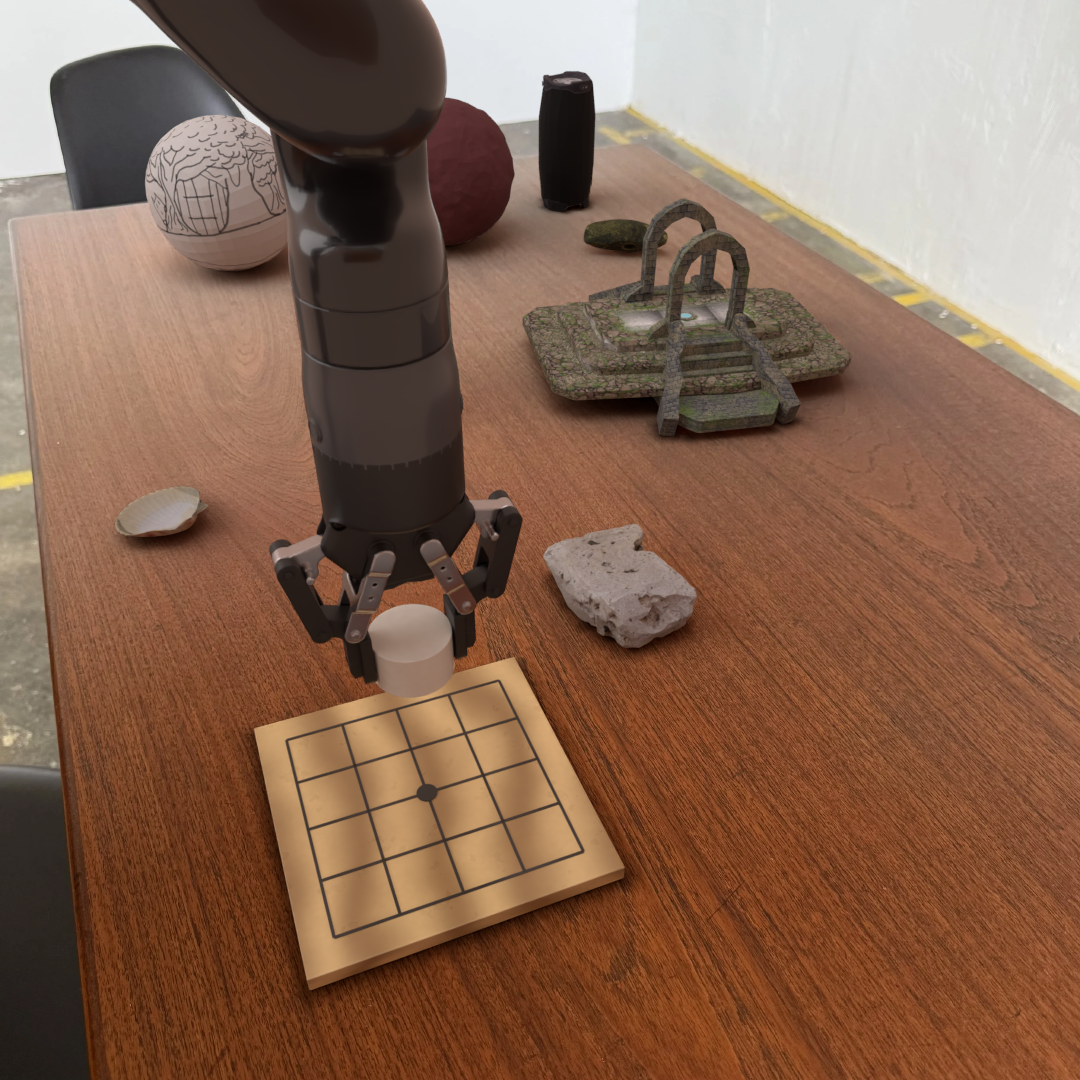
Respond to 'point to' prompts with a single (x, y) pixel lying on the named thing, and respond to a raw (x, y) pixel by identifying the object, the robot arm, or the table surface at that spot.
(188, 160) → the ball
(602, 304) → the archway
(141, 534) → the seashell
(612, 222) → the decorative stone
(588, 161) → the portable speaker
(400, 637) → the white cylinder
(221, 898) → the table surface
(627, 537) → the stone
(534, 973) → the table surface
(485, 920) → the grid board
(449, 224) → the decorative sphere
